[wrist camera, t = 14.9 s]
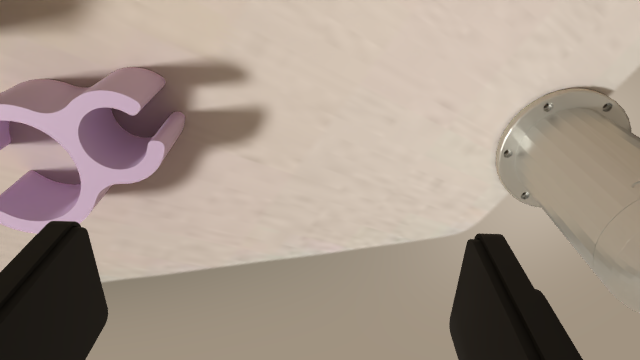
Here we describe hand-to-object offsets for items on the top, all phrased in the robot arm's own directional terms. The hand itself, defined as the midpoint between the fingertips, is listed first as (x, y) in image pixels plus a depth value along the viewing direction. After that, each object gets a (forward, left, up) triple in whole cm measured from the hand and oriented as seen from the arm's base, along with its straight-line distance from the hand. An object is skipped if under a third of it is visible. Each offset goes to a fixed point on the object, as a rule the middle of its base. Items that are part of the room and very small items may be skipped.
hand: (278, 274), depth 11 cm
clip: (+22, +10, -33) cm, 40 cm away
